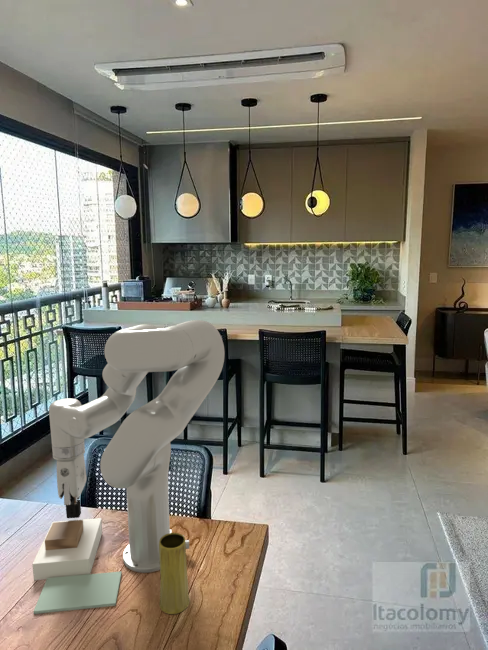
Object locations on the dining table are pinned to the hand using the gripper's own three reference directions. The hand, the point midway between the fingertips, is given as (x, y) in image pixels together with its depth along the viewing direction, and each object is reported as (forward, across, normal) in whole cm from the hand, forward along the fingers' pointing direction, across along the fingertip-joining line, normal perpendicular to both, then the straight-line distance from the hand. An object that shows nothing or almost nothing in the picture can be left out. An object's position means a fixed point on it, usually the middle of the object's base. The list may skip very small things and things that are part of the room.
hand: (74, 516), depth 118 cm
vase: (+5, -27, -26) cm, 38 cm away
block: (+1, -8, 0) cm, 9 cm away
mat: (+5, -22, -6) cm, 23 cm away
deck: (+5, -8, -1) cm, 10 cm away
